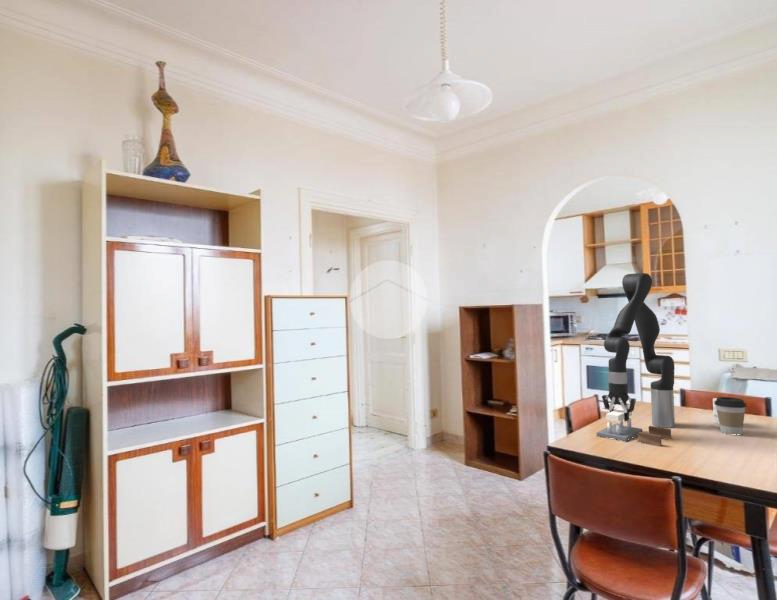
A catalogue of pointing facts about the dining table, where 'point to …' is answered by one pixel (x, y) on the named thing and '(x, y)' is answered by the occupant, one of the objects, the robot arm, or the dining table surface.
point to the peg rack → (619, 431)
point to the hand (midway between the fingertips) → (619, 419)
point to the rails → (654, 435)
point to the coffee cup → (730, 414)
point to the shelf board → (616, 415)
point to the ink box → (715, 411)
